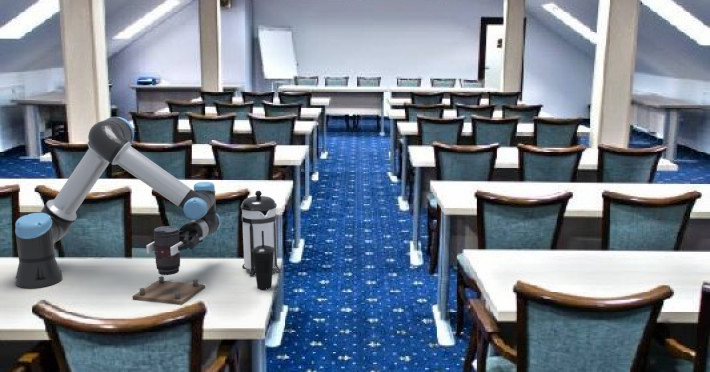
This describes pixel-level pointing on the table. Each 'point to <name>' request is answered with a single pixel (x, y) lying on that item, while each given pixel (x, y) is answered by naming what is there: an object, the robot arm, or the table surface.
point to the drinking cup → (263, 265)
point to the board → (169, 291)
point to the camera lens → (166, 250)
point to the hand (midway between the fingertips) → (159, 250)
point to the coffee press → (258, 227)
